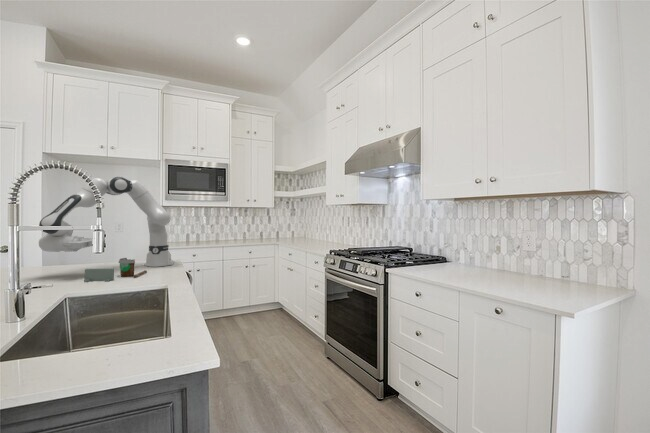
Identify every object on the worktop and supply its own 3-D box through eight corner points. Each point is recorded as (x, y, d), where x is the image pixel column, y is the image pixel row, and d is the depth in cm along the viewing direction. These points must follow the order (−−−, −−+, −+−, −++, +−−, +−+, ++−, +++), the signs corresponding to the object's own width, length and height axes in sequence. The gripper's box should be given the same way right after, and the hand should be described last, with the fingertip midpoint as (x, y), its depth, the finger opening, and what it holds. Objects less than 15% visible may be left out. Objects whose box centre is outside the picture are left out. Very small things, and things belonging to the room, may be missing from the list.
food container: (114, 275, 189) (114, 258, 189) (126, 273, 194) (126, 257, 194) (123, 278, 182) (123, 260, 182) (135, 276, 187) (135, 259, 187)
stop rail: (144, 272, 198) (144, 270, 198) (146, 272, 198) (146, 270, 198) (133, 278, 182) (133, 275, 182) (135, 278, 182) (135, 275, 182)
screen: (86, 280, 174) (86, 268, 174) (114, 280, 177) (114, 268, 176) (82, 282, 171) (82, 270, 171) (110, 281, 173) (110, 269, 173)
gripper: (61, 240, 174) (89, 239, 176) (83, 236, 194) (107, 236, 196) (61, 251, 174) (89, 251, 176) (83, 247, 194) (108, 246, 196)
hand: (99, 243), depth 186 cm, fingers closed
